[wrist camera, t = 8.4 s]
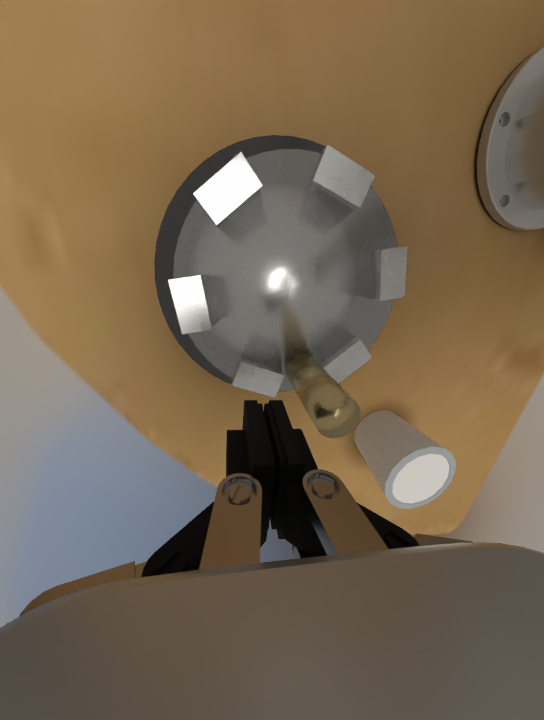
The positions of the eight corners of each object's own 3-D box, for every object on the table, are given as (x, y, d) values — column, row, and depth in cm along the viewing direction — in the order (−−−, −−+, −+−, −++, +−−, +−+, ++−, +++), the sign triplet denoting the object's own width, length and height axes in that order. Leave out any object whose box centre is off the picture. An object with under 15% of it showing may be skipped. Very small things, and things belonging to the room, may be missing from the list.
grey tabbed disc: (151, 175, 16) (82, 88, 8) (379, 154, 18) (520, 66, 10) (204, 391, 22) (197, 477, 13) (375, 358, 24) (463, 414, 15)
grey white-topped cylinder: (370, 396, 28) (416, 438, 22) (417, 415, 30) (471, 458, 24) (337, 449, 30) (370, 502, 23) (384, 463, 32) (426, 516, 25)
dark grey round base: (408, 182, 21) (428, 174, 19) (348, 388, 27) (359, 399, 25) (165, 111, 17) (158, 92, 15) (156, 373, 23) (150, 384, 21)
